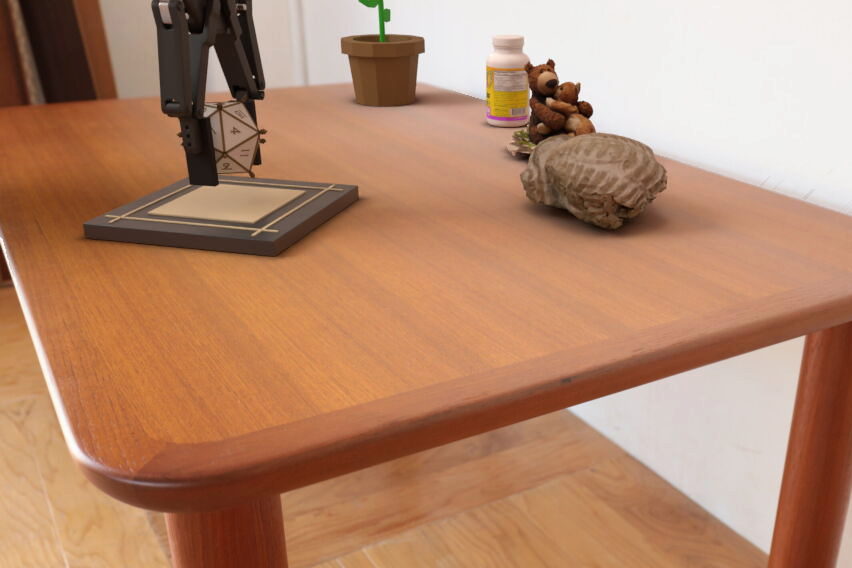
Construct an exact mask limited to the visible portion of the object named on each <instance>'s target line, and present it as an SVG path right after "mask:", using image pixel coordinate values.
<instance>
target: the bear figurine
mask: <svg viewBox="0 0 852 568" xmlns="http://www.w3.org/2000/svg"><path fill="white" fill-rule="evenodd" d="M555 67H556V63H555V61H554V60H553V59H552V58H550V57H548V59H547V61H546V63H542V64H538V65H535V66H534V64H533V63H531V60H530V61H529V62H528V63H527V64H526V65H525V66H524V69H525V71H526V72H527V74H528V83H529V88H530V92H531V95H530V100H529V103H530V104H529V105H530V111H531V112H530V117H529V122H528V124H526V130H525V129H517V130H514V131H513V135H512V138H511V139H510V140H509V142H508V143H505V146H506V148H507V150H508V152H509V153H510V155H511V156H513V157H514V156H516V155H517V153H523V154H529V155H531V154H532V152H533V151H534V149H535V147H536V146H537V145H538V144H539V143H540V142H541V141H543V140H545V139H547V138H549V137H553V136H558V135H570V136H572V137H576V136H578V135H584V134H590V133H597V130H596V128H595V125H594V124H593V122H592V121H591V117H592V116H593V114H594V109H593V106H592V104H591V103H589V102H588V101H585V100H579V94H580V93H581V87H582V86H581V85H582V83H581V82H580V81H577V82H576V84H575V82H572V81H564V82H563V83H561V84H560V80H559V76H558V74H557V72H556V68H555Z"/></svg>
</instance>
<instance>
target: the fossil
mask: <svg viewBox="0 0 852 568" xmlns="http://www.w3.org/2000/svg"><path fill="white" fill-rule="evenodd" d="M667 173H668V171H667V169H666V167H664V165H663V164H661V163H660V162H659V161H657V159H656V156H655V154H654V151H653V149H652V148H651V147H650V146H649V145H647V144H645V143H644V142H641V141H640V140H636V139H633V138H630V137H627V136H624V135H623V136H622V135H619V134H614V133H606V132H596V133H590V134H584V135H578V136H576V137H572V136H570V135H558V136H553V137H549V138H547V139H545V140H543V141H541V142H540V143H539V144H538V145H537V146H536V147H535V149H534V151H533V152H532V154H530V156H529V157H528V164H527V165H526V167H525V169H524V170H523V171H521V172H520V174H519V178H520V182H521V184H522V188H523V190H524V191H525V192H526V195H525V197H527V198H528V199H529V201H531V203H532V204H538V205H543V206H544V205H545V206H549V207H555V208H559V209H563V210H565V211H567V212H568V213H569V214H571V215H573V216H574V217H576V218H577V219H578V220H580V221H582V222H584V223H586V224H590V225H594V226H598V227H600V228H602V229H605V230H611V231H612V230H616V229H618V228H619V227H621V226H623V222H624V223H627V220H630V219H632V218H636V217H637V216H638V215H639V214H640V213H641V214H642V213H643V211H645V210H644V209H645V208H646V207H645V206H646V205H648V204H652V203H653V200H656V198H657V194H658V193H659V194H662V193H663V192H664V191H666V190H667V188H668V187H667V184H668V179H669V177H668V175H667Z"/></svg>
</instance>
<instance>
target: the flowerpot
mask: <svg viewBox="0 0 852 568" xmlns="http://www.w3.org/2000/svg"><path fill="white" fill-rule="evenodd" d="M358 2H359V3H360V4H362V5H363V6H365V7H367V8H371V9H375V8H377V7H378V11H377V12H378V28H379V33H376V34H375V33H371V34H370V33H369V34H356V35H355V34H354V35H349V36H342V37H340V51H341V53H340V54H343V55H347V57H348V58H347V59H348V64H349V69H350V74H351V80H352V85H353V91H354V96H355V102H356V104H359V105H363V106H371V107H397V106H404V105H410V104H413V103H415V102H416V92H417V91H416V90H417V81H418V80H417V79H418V69H419V58H420V57H419V56H420V55H421V54H425V53H426V42H425V41H426V40H425V37H423V36H417V35H412V34H399V33H398V34H397V33H395V34H394V33H387V34H386V23H389V22H391V9H390V8H388V7H387V8H385V5H384V3H385V2H384V0H358Z"/></svg>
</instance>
